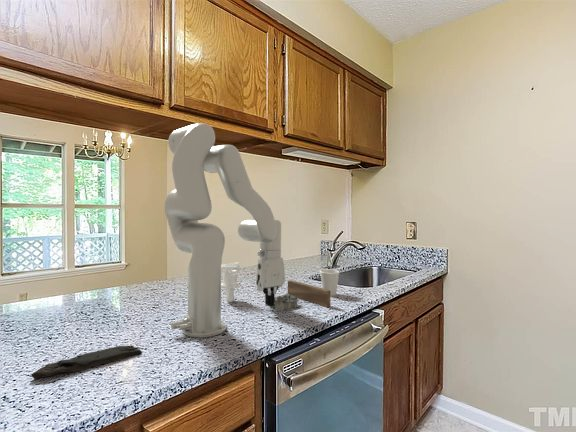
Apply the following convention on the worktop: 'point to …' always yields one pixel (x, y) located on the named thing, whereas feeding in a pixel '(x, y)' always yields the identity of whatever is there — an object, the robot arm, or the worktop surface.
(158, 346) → the worktop surface
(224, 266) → the white plastic bottle
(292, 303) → the egg carton
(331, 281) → the dixie cup
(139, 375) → the worktop surface
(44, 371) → the wood
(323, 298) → the walnut board
